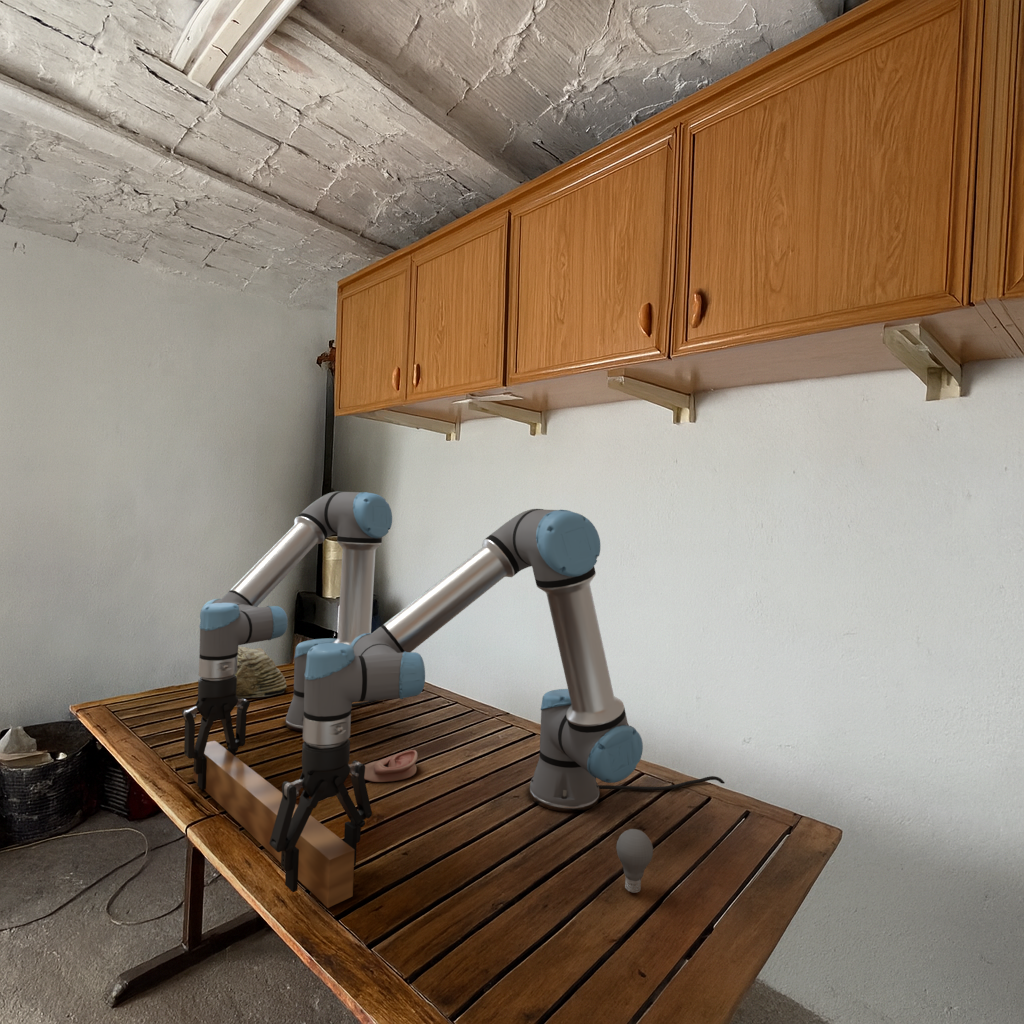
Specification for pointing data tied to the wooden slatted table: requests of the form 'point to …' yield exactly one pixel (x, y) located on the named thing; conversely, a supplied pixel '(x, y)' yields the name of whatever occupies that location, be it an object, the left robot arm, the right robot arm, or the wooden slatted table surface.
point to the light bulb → (634, 857)
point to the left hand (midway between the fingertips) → (214, 783)
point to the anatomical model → (392, 767)
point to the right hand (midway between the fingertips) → (321, 874)
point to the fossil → (257, 674)
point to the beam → (256, 810)
